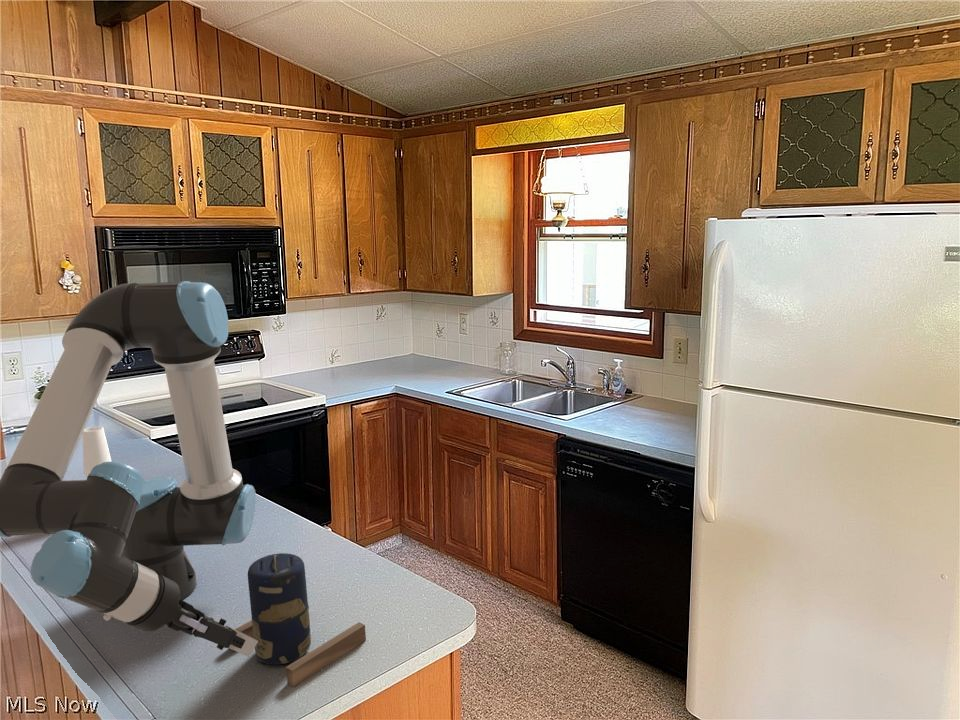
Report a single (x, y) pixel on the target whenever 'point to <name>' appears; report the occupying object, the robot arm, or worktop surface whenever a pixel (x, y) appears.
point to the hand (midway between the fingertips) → (251, 647)
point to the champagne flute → (94, 448)
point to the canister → (279, 608)
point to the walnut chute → (318, 652)
